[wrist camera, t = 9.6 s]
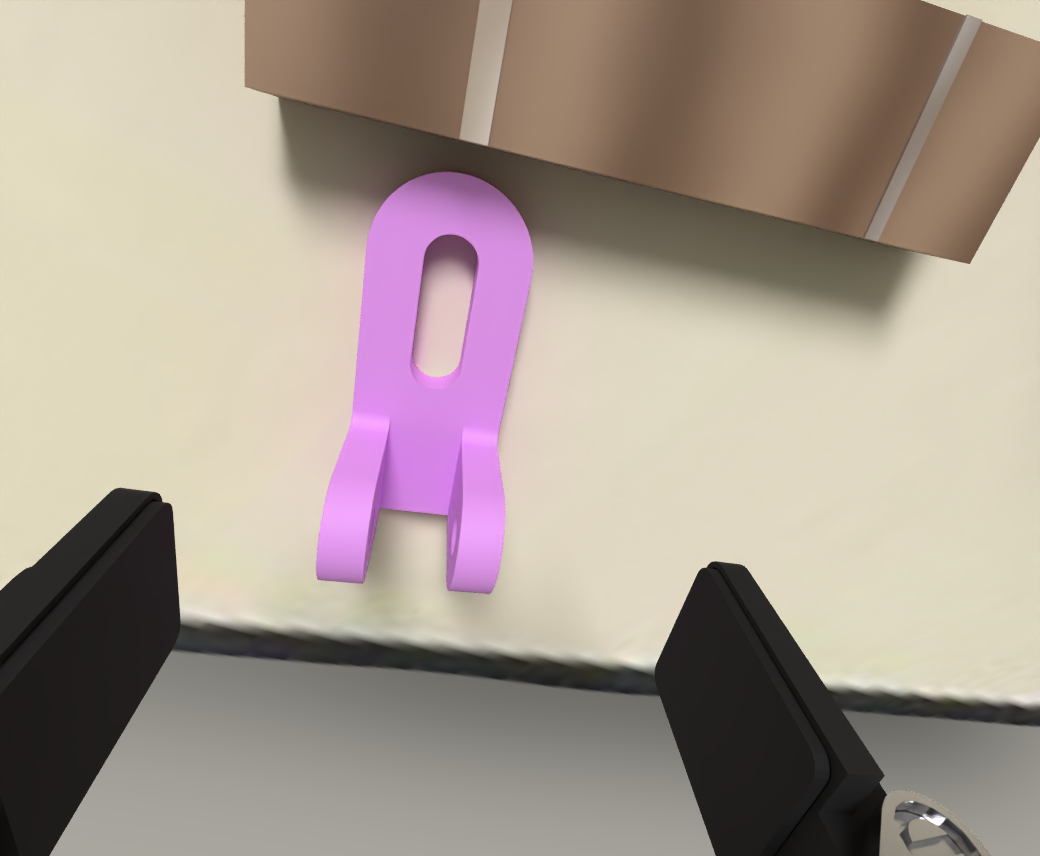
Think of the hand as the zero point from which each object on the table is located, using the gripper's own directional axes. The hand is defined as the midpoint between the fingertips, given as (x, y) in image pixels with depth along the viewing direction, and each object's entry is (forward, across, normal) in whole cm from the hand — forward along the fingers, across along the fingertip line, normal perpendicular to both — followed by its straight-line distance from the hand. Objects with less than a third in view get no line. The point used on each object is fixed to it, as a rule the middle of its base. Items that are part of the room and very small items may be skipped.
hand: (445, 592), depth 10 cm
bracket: (+13, +1, 0) cm, 13 cm away
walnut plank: (+13, -5, -10) cm, 17 cm away
